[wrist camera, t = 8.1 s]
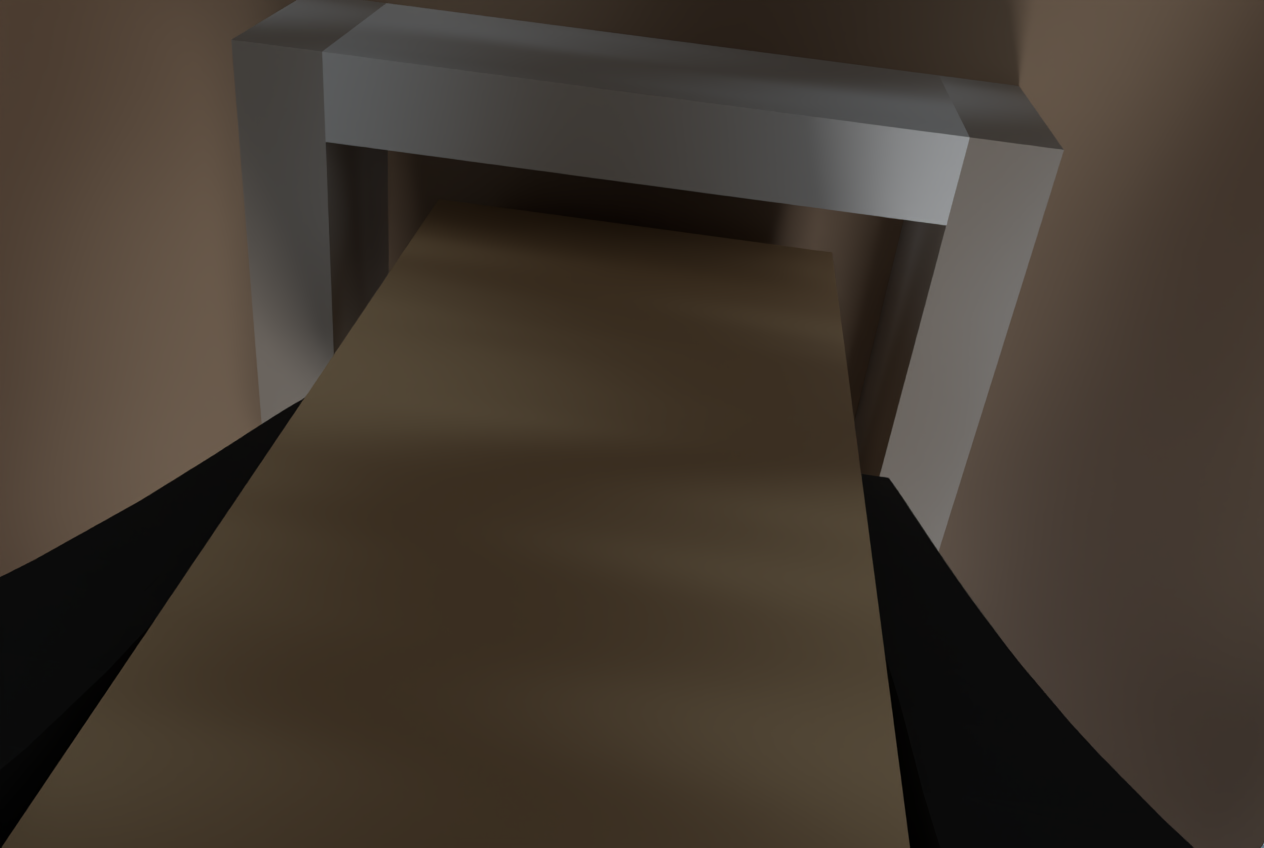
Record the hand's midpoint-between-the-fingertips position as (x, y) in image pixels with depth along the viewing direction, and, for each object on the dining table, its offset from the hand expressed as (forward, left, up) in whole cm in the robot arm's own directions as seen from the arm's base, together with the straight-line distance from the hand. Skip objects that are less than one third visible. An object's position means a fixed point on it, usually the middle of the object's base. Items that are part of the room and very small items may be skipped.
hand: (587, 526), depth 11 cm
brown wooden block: (0, 0, -2) cm, 2 cm away
